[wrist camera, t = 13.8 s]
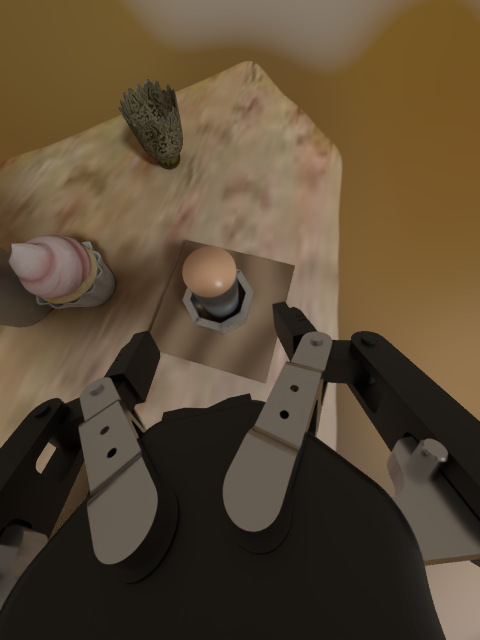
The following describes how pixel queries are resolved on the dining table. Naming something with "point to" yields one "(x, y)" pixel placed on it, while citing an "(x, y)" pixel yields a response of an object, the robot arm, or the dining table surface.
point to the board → (215, 349)
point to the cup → (155, 122)
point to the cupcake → (62, 272)
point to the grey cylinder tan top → (213, 281)
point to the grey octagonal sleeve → (229, 324)
